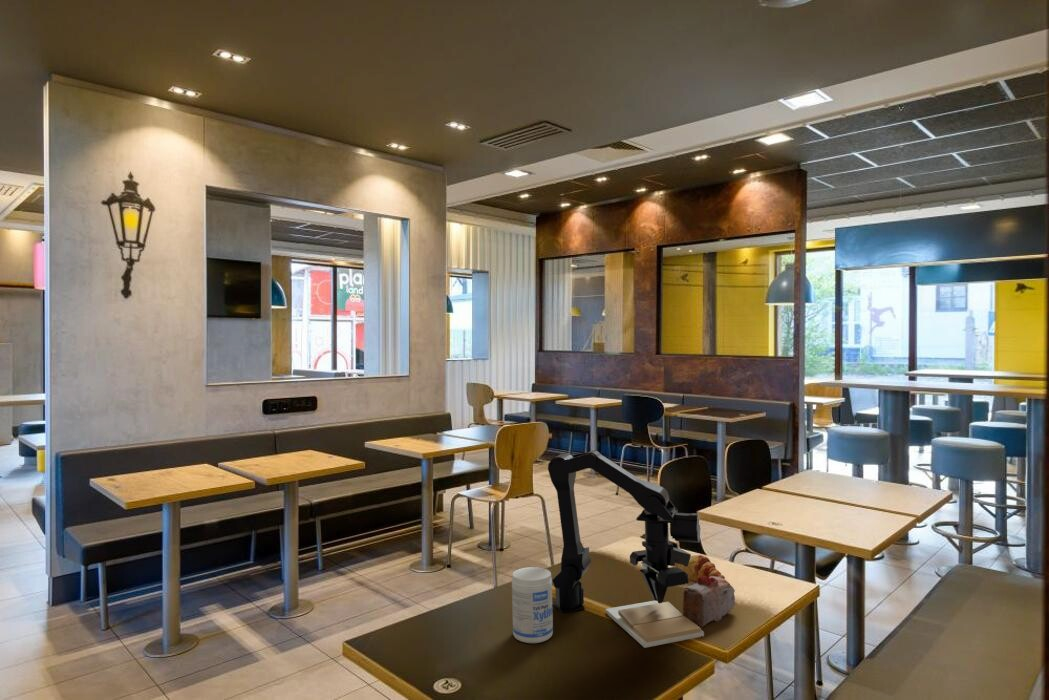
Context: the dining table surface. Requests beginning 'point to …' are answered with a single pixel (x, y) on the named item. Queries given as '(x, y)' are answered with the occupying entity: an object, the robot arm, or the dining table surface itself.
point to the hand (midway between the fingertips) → (658, 601)
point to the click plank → (649, 613)
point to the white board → (657, 628)
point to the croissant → (699, 568)
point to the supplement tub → (532, 604)
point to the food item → (708, 600)
